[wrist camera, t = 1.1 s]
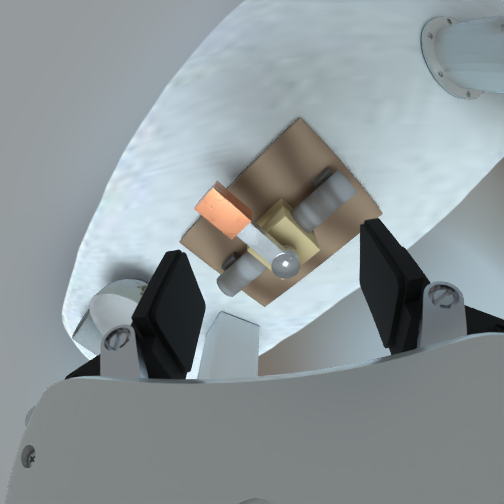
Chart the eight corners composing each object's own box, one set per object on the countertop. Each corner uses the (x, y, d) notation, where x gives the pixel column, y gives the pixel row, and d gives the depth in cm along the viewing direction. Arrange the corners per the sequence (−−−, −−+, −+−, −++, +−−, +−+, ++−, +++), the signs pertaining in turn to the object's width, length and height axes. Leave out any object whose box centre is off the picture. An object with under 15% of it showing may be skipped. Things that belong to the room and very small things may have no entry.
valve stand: (299, 117, 28) (311, 122, 21) (378, 208, 34) (405, 238, 26) (182, 237, 37) (163, 272, 30) (264, 300, 42) (264, 341, 35)
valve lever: (303, 256, 28) (306, 268, 26) (284, 272, 29) (285, 285, 27) (218, 180, 24) (213, 187, 22) (198, 200, 25) (193, 209, 23)
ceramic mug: (112, 339, 51) (99, 366, 44) (82, 316, 48) (67, 342, 41) (135, 320, 47) (121, 350, 40) (102, 292, 44) (84, 321, 37)
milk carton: (206, 334, 47) (186, 429, 31) (221, 310, 44) (203, 415, 28) (241, 347, 49) (233, 441, 33) (259, 325, 45) (256, 428, 29)
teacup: (99, 290, 44) (79, 320, 37) (125, 247, 38) (102, 278, 32) (165, 336, 48) (154, 369, 42) (202, 302, 43) (192, 339, 36)
